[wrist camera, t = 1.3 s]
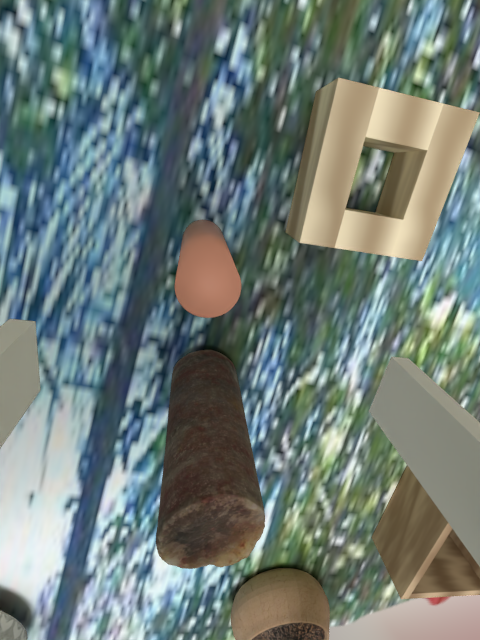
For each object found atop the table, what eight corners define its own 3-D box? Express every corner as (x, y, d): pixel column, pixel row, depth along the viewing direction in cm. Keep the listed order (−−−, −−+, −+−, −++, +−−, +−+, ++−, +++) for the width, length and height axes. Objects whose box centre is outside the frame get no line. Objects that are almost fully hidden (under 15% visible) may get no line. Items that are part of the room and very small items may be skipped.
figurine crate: (371, 537, 57) (401, 599, 49) (413, 452, 49) (456, 508, 41) (450, 535, 60) (490, 594, 52) (501, 455, 52) (558, 508, 44)
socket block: (285, 232, 33) (299, 242, 29) (316, 91, 29) (338, 77, 24) (393, 248, 36) (421, 260, 31) (438, 120, 31) (479, 112, 26)
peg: (180, 258, 33) (171, 314, 21) (184, 216, 32) (177, 250, 19) (220, 263, 34) (235, 320, 21) (226, 223, 32) (246, 259, 20)
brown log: (188, 333, 37) (182, 494, 19) (247, 355, 39) (292, 519, 21) (162, 386, 39) (135, 574, 21) (219, 404, 41) (237, 589, 23)
